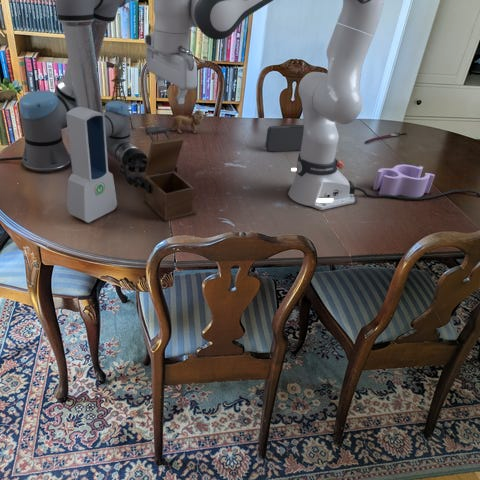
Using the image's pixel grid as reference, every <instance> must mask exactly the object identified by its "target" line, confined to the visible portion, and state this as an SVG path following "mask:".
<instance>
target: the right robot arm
mask: <svg viewBox="0 0 480 480" xmlns="http://www.w3.org/2000/svg"><path fill="white" fill-rule="evenodd" d="M273 1H274V0H153V6H152V9H153V13H154V24H153V32H151V33H147V34H145V35H144V43H145V45H146V47H145V60H146V61H145V63H146V68H147V70H148V72H149V73H151V74H153V75H155V77H154V79H155V82H156V85H157V93H159V94H161V95H164V94H166V93H167V86H166V85H165V84H166V83H165V81H166V82H168V83H170V84H172V85H173V86H176V87H177V91H178V93H177V95H175V103H177V104H178V105H184V104H185V99H186V98H185V97H186V95H187V93H188V92H189V91H192V90H193V91H194V90H196V89H197V87H198V65H197V60H196V58H195V56H194V55H193V52H192V50H190V30H191V28H197V29H199V30H200V32H201V33H202V34H203V35H204V36H206V37H207V38H209V39H211V40H218V41H219V40H224V39H227V38H228V37H230V36H231V35H232V34H234V32H235V31H237V29H238V28H239V27H240V25H241V24H242V23H243V21H244V20H245V19H247V18H249V16H252V14H254V13H255V12H257V11H258V10H260V9H262V8H264V7H265V6H267V5H269V4H270V3H271V2H273ZM384 3H385V0H342V7H341V11H340V12H339V15H338V19H337V21H336V23H335V26H334V28H333V32H332V35H331V37H330V40H329V42H328V45H327V48H326V59H327V73H326V72H322V71H321V72H320V71H311V72H308V73H307V74H305V75H304V76H303V77H302V78H301V80H299V81H300V82H299V84H298V90H297V91H298V95H299V98H300V102H301V107H302V108H301V109H302V123H303V124H302V125H304V130H303V139H302V145H301V150H300V151H299V153H298V156H297V161H296V166H295V167H291V170H290V171H291V172H295V174H294V175H295V176H294V178H293V181H292V184H291V186H290V188H289V190H288V193H287V194H288V196H289V198H290V199H291V200H292V201H294V202H296V203H298V204H300V205H303V206H307V207H312V208H315V209H317V210H319V211H324V210H328V209H332V208H338V207H341V206H345V205H346V206H347V205H351V204H354V203H355V202H356V198H355V196H354V195H355V191H356V190H357V191H360V192H362V193H363V195H365V196H366V197H369V198H376V199H377V198H388V199H389V198H390V199H398V200H403V201H404V200H405V201H420V200H421V201H422V200H423V201H424V200H429V199H434V198H438V197H441V196H446V195H450V194H454V193H455V194H456V193H471V194H475V193H476V194H475V195H477V196H478V197H479V198H480V192H478V191H476V190H473V189H452V190H448V191H445V192H440V193H437V194H434V195H428V196H421V197H406V196H401V195H396V196H393V195H380V194H370V193H368V192H367V191H366V190H365V189H364V188H361V187H359V186H355V185H354V184H353V182H352V181H351V180H348V178H346V176H345V175H344V174H343V173H342V172H341V171H339V170H338V169H340V170H342V169H344V167H345V163H343V162H342V161H341V160H338V159H337V158H336V155H337V154H336V153H337V149H338V144H339V140H340V139H339V138H340V137H339V136H340V135H339V132H338V129H337V125H336V124H339V125H348V124H350V123H352V122H355V120H356V119H357V118H358V117H359V116H360V114H361V112H362V109H363V99H362V96H361V76H362V70H363V66H364V63H365V60H366V58H367V54H368V51H369V49H370V46H371V45H372V41H373V39H374V36H375V34H376V31H377V29H378V25H379V23H380V20H381V16H382V12H383V9H384ZM465 191H466V192H465Z"/></svg>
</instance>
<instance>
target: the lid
mask: <svg viewBox="0 0 480 480" xmlns="http://www.w3.org/2000/svg"><path fill="white" fill-rule="evenodd" d="M144 133H145V135H146V136H148V137H149V138H150V140H151V143H150V147H149V151H148V156H147V158H148V161H147V165H146V170H145V172H144V175H145V177H148V176H153V175H158V174H160V173H165V172H170V171H175V168H176V167H177V164H178V162H179V158H180V154H181V150H182V148H183V143H184V137H183V136H179V137H173V138H172V137H171V135H170V133H169V132H168V127H167V125H166V124H163V125H156V126H149V127H148V126H147V127H145V129H144ZM159 134H164V135H165V136H166V139H160V140H159V139H158V140H156V139H155V137H154V136H153V135H159Z"/></svg>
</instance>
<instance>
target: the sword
mask: <svg viewBox="0 0 480 480" xmlns="http://www.w3.org/2000/svg"><path fill="white" fill-rule="evenodd" d="M404 134H406V133H402V134H400V132H393V133H390V134H387V135H381V136H378V137H374V138H370V139H368V140H366V141H365V144H368V143H370V142H374V141H378V140H381V139H386V138H390V137H394V136H395V137H398V136H399V135H404Z"/></svg>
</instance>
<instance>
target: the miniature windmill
mask: <svg viewBox="0 0 480 480" xmlns="http://www.w3.org/2000/svg"><path fill="white" fill-rule="evenodd" d="M105 65H106V68H107V69H113V68H114V70H115V71H114V73H115V78H113V79H111V80H110V81H111V82H112V83H114V85H113V86H112V88H113V90H112V96H111V100H110V101H122V102H123V101H124V102H125V103H127V104H128V101H127V96H126V93H125V90H124V86H123V83H124V82H125V81H127V79H125V78H123V76H124V74H125V70H124V69H126V67H125V65H126V63H125V60H124V56H121V53H119V54H118V56H116V60H115V63H113V62H111V61H107V60H106V64H105ZM121 91H122V92H121ZM118 92H119V95H118ZM122 94H123V95H122ZM129 115H130V128H131V129H134V125H133V119H132V116H131V112H130V111H129Z"/></svg>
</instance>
